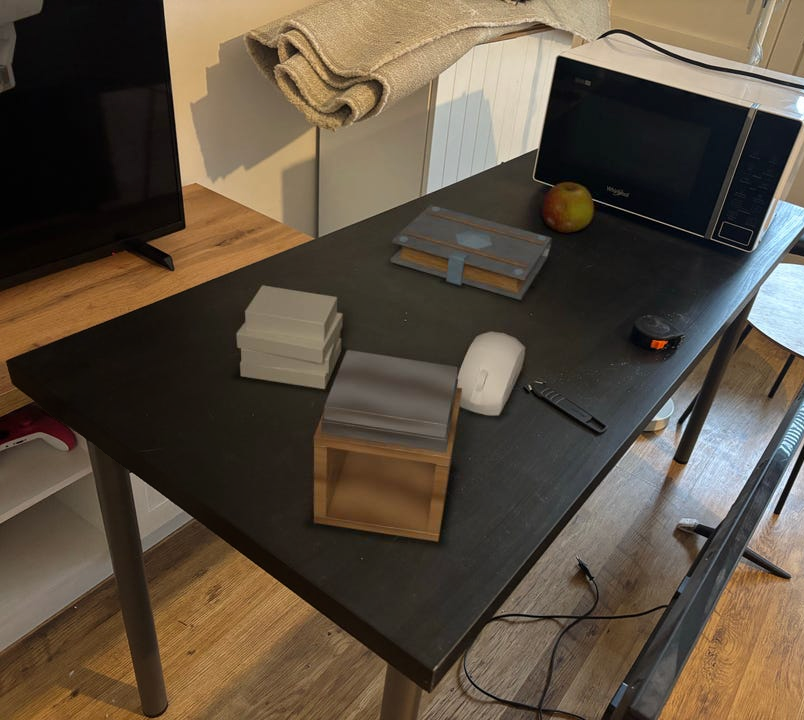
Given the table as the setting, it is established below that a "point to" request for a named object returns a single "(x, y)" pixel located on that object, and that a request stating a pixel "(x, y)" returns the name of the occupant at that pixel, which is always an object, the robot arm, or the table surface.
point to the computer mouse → (490, 372)
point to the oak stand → (386, 446)
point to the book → (472, 251)
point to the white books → (289, 356)
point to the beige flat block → (291, 313)
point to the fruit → (568, 207)
